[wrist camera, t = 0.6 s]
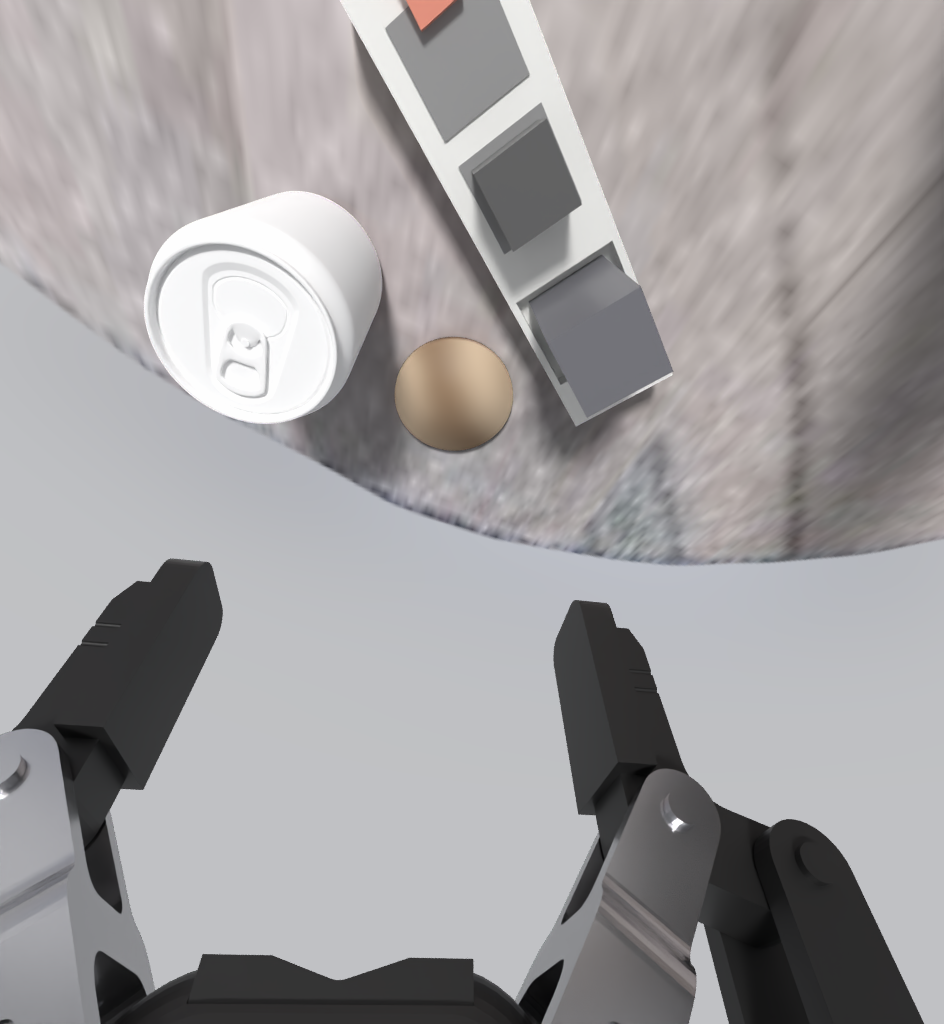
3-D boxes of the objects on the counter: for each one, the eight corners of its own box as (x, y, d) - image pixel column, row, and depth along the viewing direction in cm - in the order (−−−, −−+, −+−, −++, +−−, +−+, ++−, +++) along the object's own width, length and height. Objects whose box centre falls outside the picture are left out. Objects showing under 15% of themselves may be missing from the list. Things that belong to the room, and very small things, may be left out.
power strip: (425, -229, 18) (414, -359, 13) (656, 357, 32) (691, 395, 27) (296, -86, 20) (247, -155, 15) (567, 406, 34) (586, 450, 29)
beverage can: (400, 228, 27) (372, 279, 18) (364, 360, 32) (326, 457, 22) (249, 161, 25) (125, 177, 16) (233, 313, 29) (130, 397, 20)
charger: (601, 254, 26) (640, 286, 21) (631, 327, 29) (673, 372, 23) (528, 301, 28) (547, 343, 22) (562, 366, 30) (587, 419, 25)
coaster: (472, 311, 30) (472, 314, 29) (532, 411, 34) (533, 415, 34) (370, 379, 32) (369, 382, 32) (439, 464, 37) (438, 468, 36)
